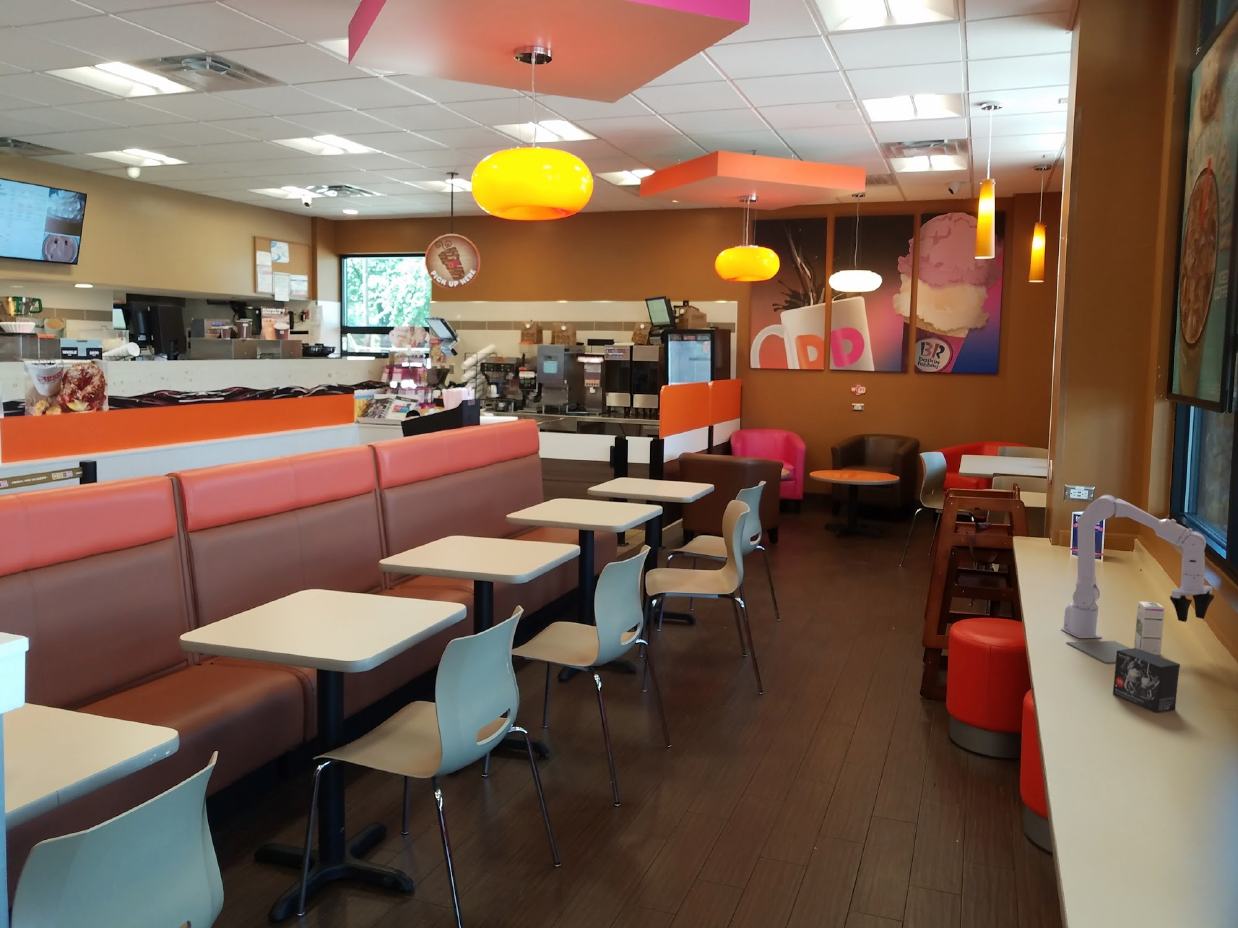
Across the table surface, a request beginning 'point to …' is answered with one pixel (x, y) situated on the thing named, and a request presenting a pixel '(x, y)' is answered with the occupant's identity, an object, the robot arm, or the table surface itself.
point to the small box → (1146, 679)
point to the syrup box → (1149, 627)
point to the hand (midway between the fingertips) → (1191, 619)
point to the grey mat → (1100, 649)
